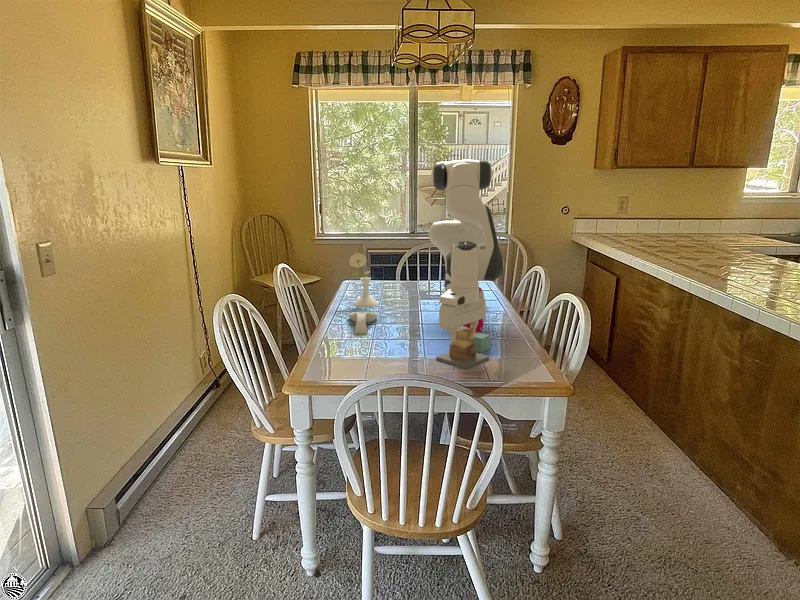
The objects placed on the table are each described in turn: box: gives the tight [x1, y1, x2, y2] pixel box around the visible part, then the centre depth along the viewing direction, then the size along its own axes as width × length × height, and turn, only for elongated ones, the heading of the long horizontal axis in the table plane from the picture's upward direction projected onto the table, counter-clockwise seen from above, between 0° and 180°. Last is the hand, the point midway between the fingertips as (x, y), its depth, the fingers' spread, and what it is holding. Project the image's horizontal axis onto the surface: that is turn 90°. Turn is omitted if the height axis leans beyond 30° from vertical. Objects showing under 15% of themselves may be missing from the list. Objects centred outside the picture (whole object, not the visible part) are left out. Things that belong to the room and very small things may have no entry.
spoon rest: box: [348, 311, 379, 335], centre depth 198 cm, size 24×12×7 cm, turn 2°
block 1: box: [451, 325, 474, 348], centre depth 160 cm, size 5×5×5 cm
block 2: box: [474, 332, 491, 354], centre depth 171 cm, size 5×5×5 cm
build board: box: [435, 351, 490, 370], centre depth 162 cm, size 12×12×1 cm
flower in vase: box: [348, 252, 379, 308], centre depth 224 cm, size 13×11×25 cm
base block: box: [449, 343, 477, 361], centre depth 161 cm, size 6×6×4 cm
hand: (463, 337), depth 160 cm, fingers open, 8 cm apart
